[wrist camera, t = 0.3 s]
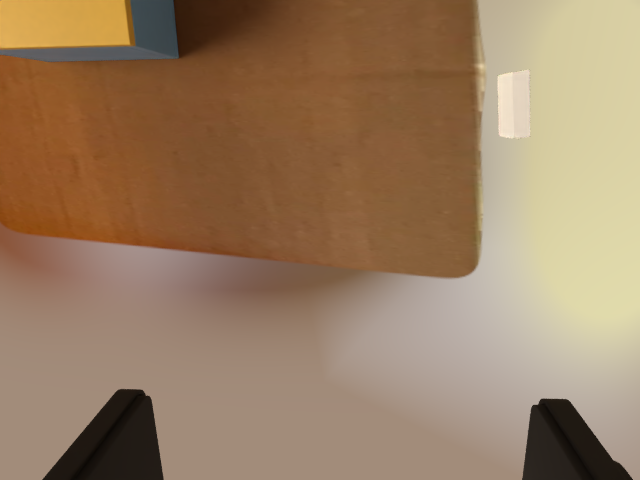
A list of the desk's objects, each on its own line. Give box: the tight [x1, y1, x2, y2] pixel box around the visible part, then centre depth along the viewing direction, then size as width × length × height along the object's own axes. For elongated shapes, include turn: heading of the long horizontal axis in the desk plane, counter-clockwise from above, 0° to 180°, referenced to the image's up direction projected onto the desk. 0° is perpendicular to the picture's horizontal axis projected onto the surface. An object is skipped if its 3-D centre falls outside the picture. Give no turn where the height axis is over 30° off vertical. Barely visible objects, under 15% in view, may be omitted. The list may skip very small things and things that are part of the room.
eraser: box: [498, 70, 530, 139], centre depth 35 cm, size 1×5×4 cm, turn 8°
